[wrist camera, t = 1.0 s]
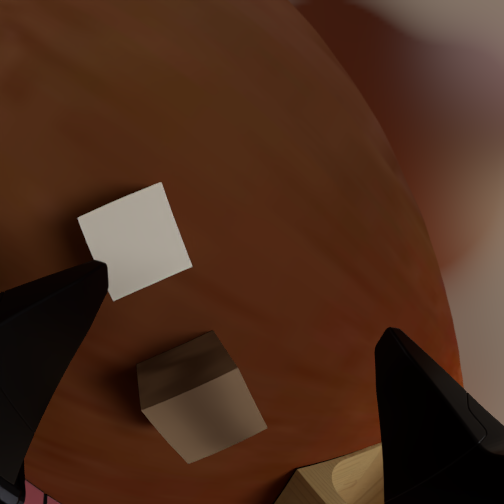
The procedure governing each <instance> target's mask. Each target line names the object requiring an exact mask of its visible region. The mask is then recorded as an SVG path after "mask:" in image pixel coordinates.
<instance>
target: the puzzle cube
mask: <svg viewBox="0 0 504 504" xmlns="http://www.w3.org/2000/svg"><path fill="white" fill-rule="evenodd" d="M25 487H26V497H25V502H24V504H61V503H59V502H58V501H56V500H54V499H53V498H51V497H50V496H48V495H47V494H45V495H44V493H43V492H42V491H41V490H39V489H38V488H37V487H35V486H34V485H32V484H31V483H30V482H28V481H27V480H26V479H25Z"/></svg>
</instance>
